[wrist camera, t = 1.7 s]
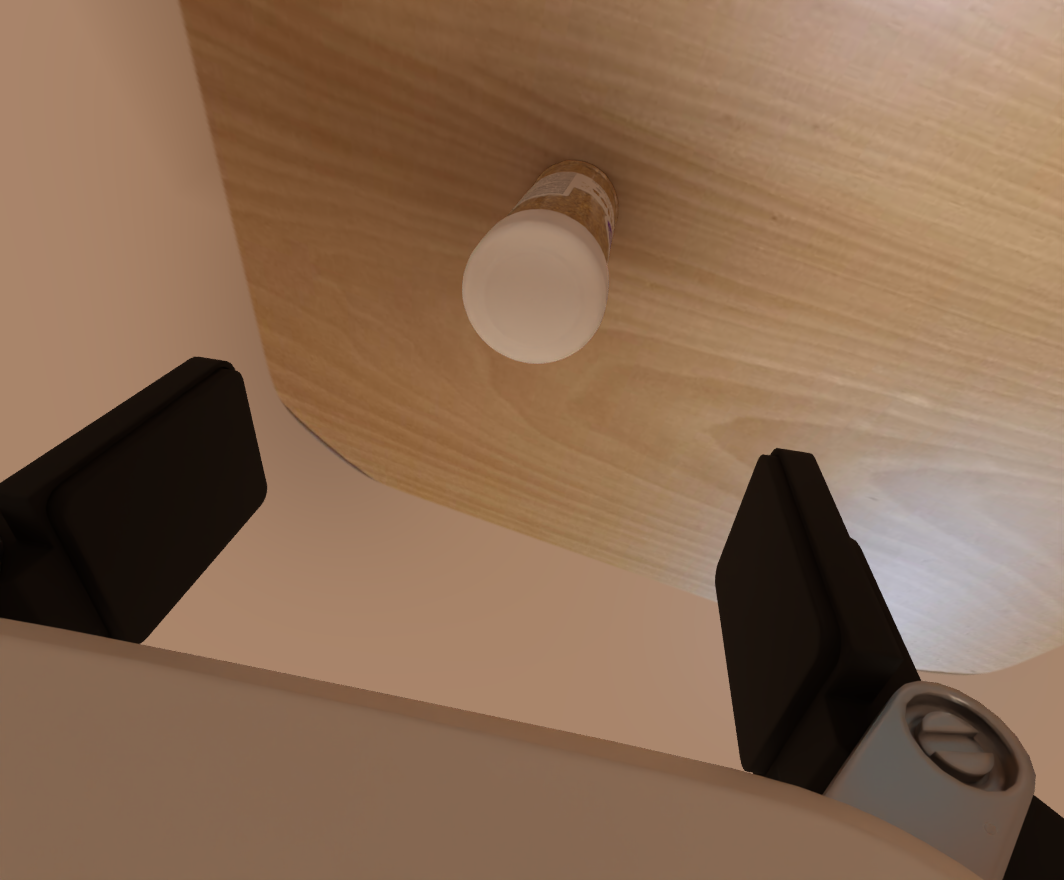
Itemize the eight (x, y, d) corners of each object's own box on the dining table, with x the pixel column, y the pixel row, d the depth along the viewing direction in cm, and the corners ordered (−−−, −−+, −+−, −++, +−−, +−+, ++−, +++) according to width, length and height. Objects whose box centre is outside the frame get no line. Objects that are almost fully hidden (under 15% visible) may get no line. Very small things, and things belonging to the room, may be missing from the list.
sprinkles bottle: (626, 241, 29) (621, 353, 18) (541, 263, 30) (486, 380, 19) (607, 144, 27) (586, 203, 16) (515, 172, 28) (435, 245, 17)
